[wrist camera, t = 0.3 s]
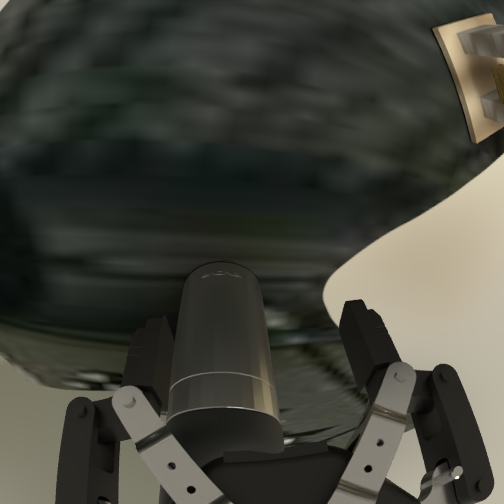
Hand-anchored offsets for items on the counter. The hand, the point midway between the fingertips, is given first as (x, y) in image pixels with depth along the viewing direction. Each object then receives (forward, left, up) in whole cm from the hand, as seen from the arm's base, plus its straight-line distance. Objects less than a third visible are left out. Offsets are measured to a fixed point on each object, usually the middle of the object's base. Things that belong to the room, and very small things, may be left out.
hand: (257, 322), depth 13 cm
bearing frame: (+17, -27, -18) cm, 36 cm away
